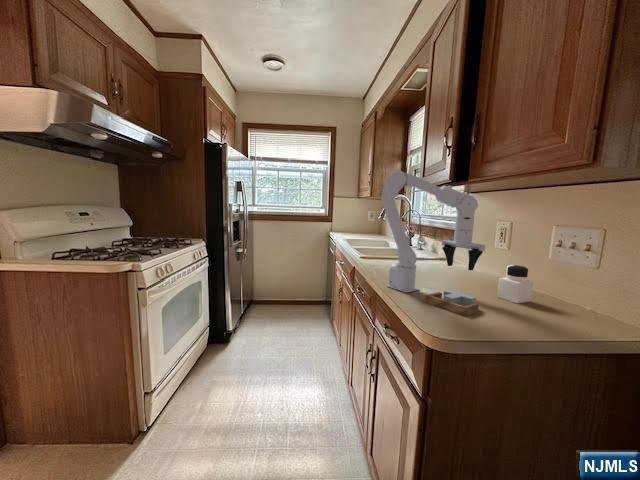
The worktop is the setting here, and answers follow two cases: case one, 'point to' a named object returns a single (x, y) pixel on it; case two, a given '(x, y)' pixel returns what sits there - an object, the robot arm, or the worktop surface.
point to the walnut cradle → (451, 305)
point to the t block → (459, 298)
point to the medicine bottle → (515, 285)
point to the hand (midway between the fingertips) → (460, 267)
